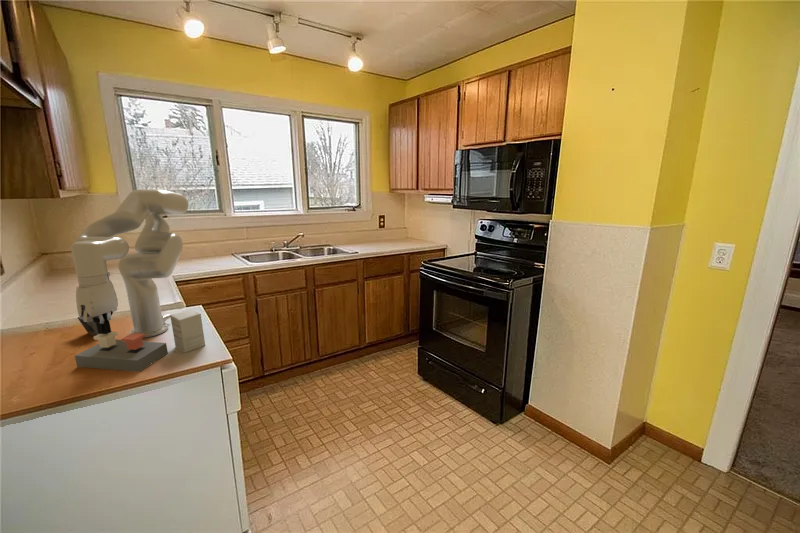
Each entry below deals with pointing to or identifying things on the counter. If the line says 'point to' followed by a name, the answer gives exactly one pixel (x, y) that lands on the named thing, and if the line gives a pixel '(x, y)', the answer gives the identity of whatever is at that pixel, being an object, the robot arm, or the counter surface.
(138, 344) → the red plug
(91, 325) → the electrical switch
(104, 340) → the ivory plug
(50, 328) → the counter surface
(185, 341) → the supplement box
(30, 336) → the counter surface
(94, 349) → the plug panel
